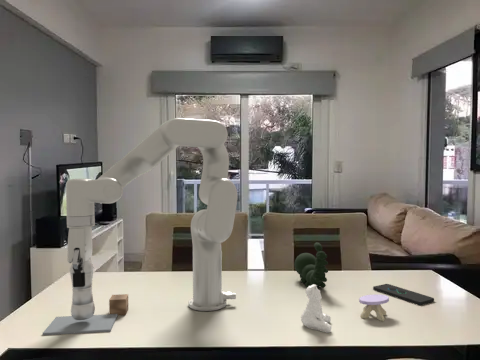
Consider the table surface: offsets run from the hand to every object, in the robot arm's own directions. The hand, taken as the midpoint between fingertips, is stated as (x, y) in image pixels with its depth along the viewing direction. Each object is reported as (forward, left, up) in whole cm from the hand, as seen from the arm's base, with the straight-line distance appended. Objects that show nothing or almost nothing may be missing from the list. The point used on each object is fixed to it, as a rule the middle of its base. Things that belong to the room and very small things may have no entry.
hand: (82, 282), depth 119 cm
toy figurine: (-78, -30, -13) cm, 84 cm away
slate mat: (0, 0, -12) cm, 12 cm away
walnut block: (-9, -9, -13) cm, 18 cm away
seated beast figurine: (-67, +10, -13) cm, 69 cm away
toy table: (-87, +5, -13) cm, 88 cm away
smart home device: (-106, -12, -13) cm, 108 cm away
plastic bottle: (0, 0, -11) cm, 11 cm away
